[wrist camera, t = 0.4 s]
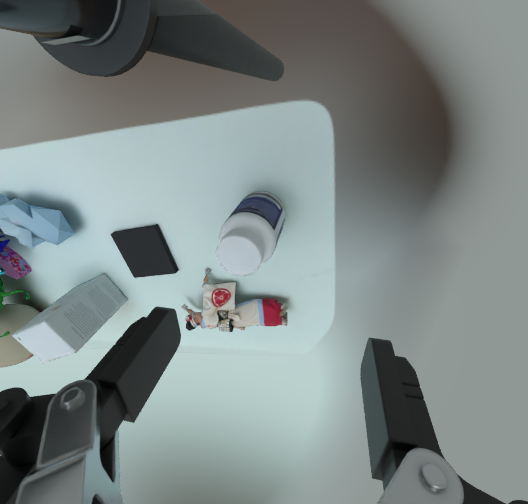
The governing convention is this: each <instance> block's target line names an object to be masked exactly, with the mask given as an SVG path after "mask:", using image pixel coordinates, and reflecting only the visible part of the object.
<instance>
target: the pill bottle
mask: <svg viewBox="0 0 528 504" xmlns="http://www.w3.org/2000/svg"><path fill="white" fill-rule="evenodd" d="M284 221H285V211H284V207H283V205H282V204H281V202H280V201H279V200H278V199H277V198H276V197H275V196H274V195H272V194H270V193H267V192H254V193H251V194H249V195H247V196H246V197H245V198H244V199H243V200H242V201H241V202H240V204H239V205H238V206H237V208H236V209H235V210H234V211H233V213H232V214H231V215H230V216H229V217H228V219H227V220H226V221H225V223H224V224H223V226H222V228H221V230H220V235H219V240H220V242H219V244H218V246H217V249H216V256H217V259H218V262H219V263H220V265H221V266H222V267H223V268H224V269H225V270H226V271H228V272H229V273H231V274H234V275H238V276H247V275H251V274H253V273H254V272H256V271H257V270H258V268H259V267H260V265H261V264H263V263H265V262H266V261H267V260H269V259H270V257H271V256H272V255H273V253H274V250H275V248H276V245H277V242H278V239H279V236H280V233H281V231H282V228H283V225H284Z"/></svg>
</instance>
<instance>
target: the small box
mask: <svg viewBox="0 0 528 504" xmlns="http://www.w3.org/2000/svg"><path fill="white" fill-rule="evenodd" d="M126 301H127V298H126V297H125V296H124V295H123V294H122V293H121V292H120V291H119V289H118V288H117V287H116V286H115V285H114V284H113V282H112V281H111V280H110V279H109V278H108V277H107V276H106V274H102V275H100V276H98V277H96V278H94V279H92V280H90V281H88V282H86V283H84V284H82V285H80V286H77V287H75V288H73V289H72V290H71V291H69V292H68V293H66V294H65V295H64V296H62V297H61V298H60V299H58V300H57V301H56V302H54V303H53V304H52V305H50V306H49V307H48V308H46V309H45V310H44V311H42V312H41V313H40V314H38V315H37V316H36V317H35V318H33V319H32V320H31V321H29V322H28V323H27V324H25V325H24V326H23V327H21V328H20V329H19V330H17V331H16V332H15V333H13V334H12V336H13V337H14V338H15V339H16V340H17V341H18V342H19V343H21V344H22V345H23V346H24V347H25V348H26V349H27V350H28V351H30V352H31V353H32V354H33V355H34V356H35V357H36V358H37V359H39V360H40V361H41V362H42V363H45V362H48V361H51V360H54V359H57V358H60V357H63V356H66V355H69V354H72V353H76V352H77V351H78V350H79V349H80V348H81V347H82V346H83V345H84V344H85V343H86V342H87V341H88V340H89V339H90V338H91V337H92V336H93V335H94V334H95V333H96V332H97V331H98V330H99V329H100V328H101V327H102V326H103V324H104V323H105V322H106V321H107V320H108V319H109V318H110V317H111V316H112V315H113V314H114V313H115V312H116V311H117V310H118V309H119V308H120V307H121V306H122V305H123V304H124V303H125V302H126Z"/></svg>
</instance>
